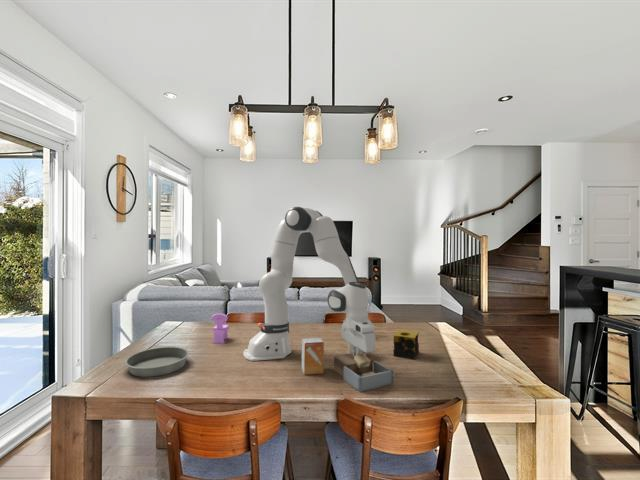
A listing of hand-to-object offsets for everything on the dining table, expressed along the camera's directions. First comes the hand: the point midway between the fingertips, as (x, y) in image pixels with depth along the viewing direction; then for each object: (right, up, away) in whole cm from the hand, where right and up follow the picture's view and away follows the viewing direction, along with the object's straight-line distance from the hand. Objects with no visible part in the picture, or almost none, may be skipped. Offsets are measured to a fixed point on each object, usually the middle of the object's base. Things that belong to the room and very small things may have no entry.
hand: (356, 356), depth 138 cm
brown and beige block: (-1, -7, +2) cm, 7 cm away
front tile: (+4, -4, -9) cm, 10 cm away
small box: (-18, -7, +2) cm, 19 cm away
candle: (+26, -7, +22) cm, 35 cm away
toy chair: (-67, -6, +42) cm, 79 cm away
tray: (+3, -7, -8) cm, 11 cm away
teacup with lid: (+3, -7, +23) cm, 25 cm away
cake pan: (-84, -7, +7) cm, 84 cm away
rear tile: (+1, -2, -3) cm, 4 cm away
